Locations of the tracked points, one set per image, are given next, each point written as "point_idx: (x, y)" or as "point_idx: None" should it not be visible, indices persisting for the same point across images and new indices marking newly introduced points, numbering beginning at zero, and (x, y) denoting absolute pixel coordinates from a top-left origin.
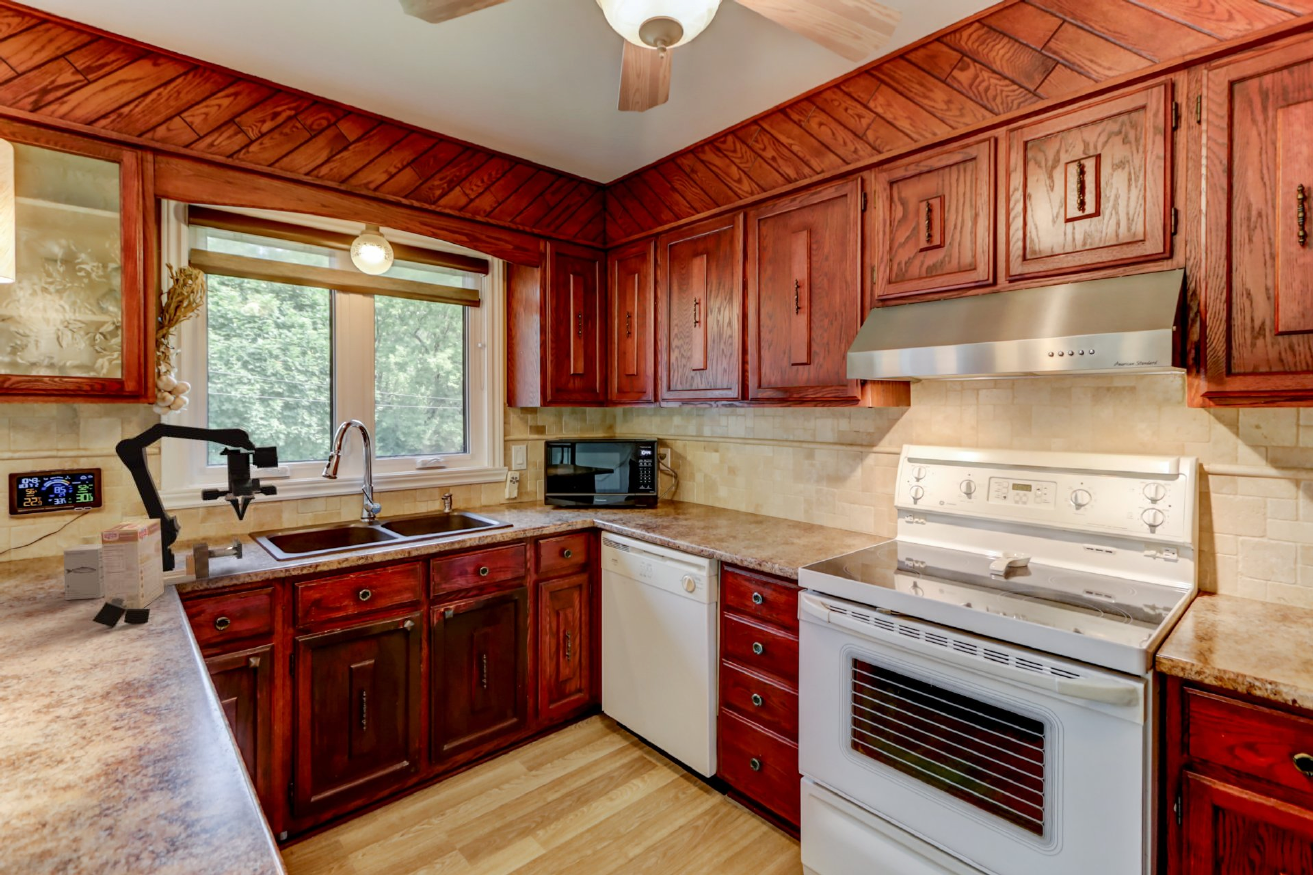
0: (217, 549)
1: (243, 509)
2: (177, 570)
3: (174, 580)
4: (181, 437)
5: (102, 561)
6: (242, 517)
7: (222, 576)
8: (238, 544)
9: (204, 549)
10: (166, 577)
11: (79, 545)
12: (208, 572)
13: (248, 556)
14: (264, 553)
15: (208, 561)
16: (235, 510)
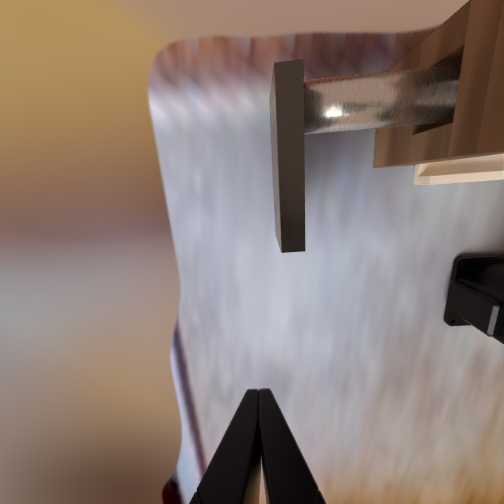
0: (400, 84)
1: (226, 497)
2: (479, 173)
3: None
4: None
5: None
6: (246, 405)
7: (337, 71)
8: (293, 63)
9: None
10: (502, 156)
11: None
12: (393, 69)
13: (238, 343)
14: (194, 356)
15: (423, 42)
16: (321, 497)
